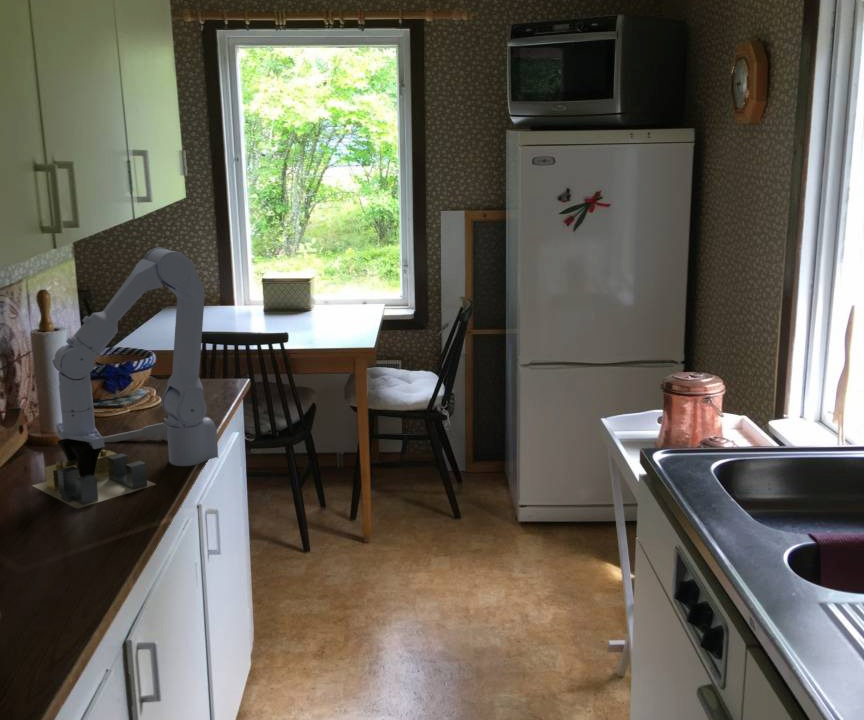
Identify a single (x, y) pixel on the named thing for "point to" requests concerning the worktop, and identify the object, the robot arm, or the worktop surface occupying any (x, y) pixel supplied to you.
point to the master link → (100, 469)
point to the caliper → (141, 433)
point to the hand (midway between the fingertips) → (83, 476)
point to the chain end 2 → (127, 471)
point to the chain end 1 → (77, 486)
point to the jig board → (104, 487)
